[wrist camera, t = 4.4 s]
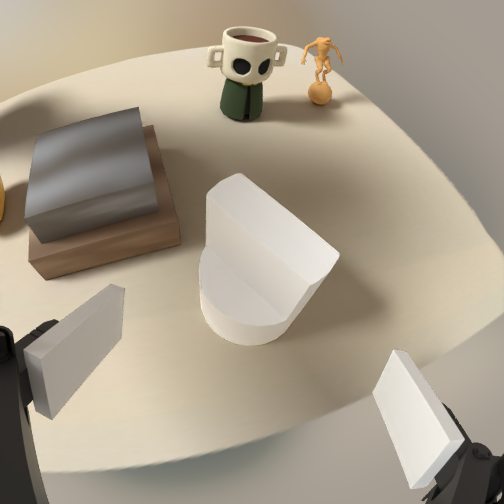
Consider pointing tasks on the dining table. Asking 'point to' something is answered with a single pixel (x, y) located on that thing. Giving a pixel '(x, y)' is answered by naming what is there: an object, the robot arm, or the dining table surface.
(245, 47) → the character mug
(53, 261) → the grey and brown block
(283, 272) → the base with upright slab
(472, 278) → the dining table surface
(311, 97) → the figurine
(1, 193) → the dumbbell
